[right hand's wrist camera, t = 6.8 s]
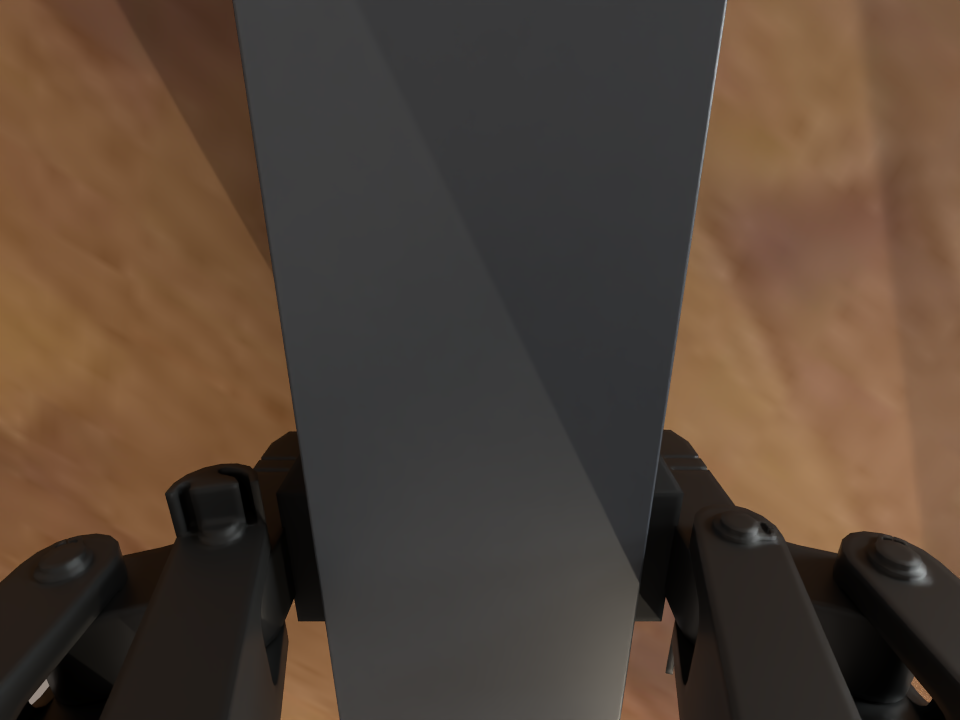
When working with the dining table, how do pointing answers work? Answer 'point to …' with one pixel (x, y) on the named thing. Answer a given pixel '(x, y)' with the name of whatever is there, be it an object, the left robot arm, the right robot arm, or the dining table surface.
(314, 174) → the bar
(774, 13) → the dining table surface
